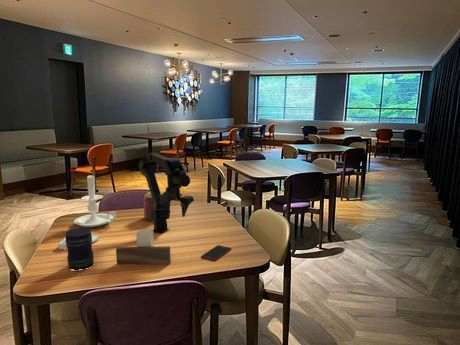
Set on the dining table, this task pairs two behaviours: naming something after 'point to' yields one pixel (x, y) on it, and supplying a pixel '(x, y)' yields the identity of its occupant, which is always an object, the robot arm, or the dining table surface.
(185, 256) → the dining table surface
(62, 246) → the white brass knuckles
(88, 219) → the candlestick
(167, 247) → the stand
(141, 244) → the off-white cabinet box
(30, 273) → the dining table surface
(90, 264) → the storage jar
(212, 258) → the cell phone
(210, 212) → the dining table surface
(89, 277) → the dining table surface
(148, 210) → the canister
